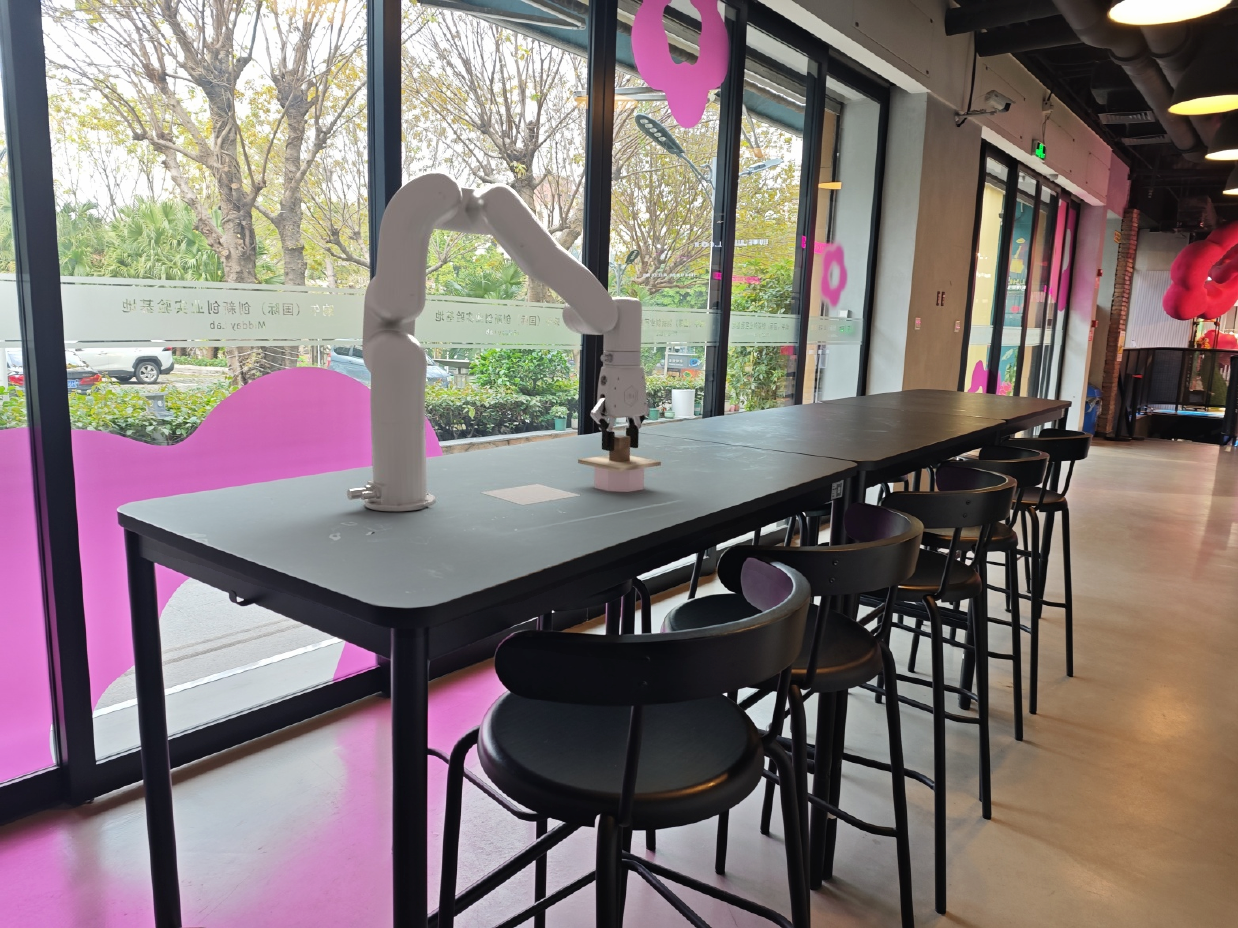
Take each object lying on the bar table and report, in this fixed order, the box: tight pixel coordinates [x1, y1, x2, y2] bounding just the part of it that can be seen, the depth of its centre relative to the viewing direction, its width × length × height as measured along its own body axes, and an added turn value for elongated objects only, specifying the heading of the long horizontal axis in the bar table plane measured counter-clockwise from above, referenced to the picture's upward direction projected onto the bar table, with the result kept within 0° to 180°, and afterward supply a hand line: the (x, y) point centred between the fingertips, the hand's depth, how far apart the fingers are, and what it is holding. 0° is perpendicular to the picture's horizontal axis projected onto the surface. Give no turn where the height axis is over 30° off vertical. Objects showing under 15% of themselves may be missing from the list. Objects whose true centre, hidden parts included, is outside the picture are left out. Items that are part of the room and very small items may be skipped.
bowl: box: [593, 467, 645, 493], centre depth 172 cm, size 10×10×5 cm
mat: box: [480, 483, 581, 506], centre depth 163 cm, size 14×14×1 cm
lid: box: [577, 434, 662, 472], centre depth 171 cm, size 12×12×6 cm
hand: (620, 448), depth 171 cm, fingers open, 6 cm apart
